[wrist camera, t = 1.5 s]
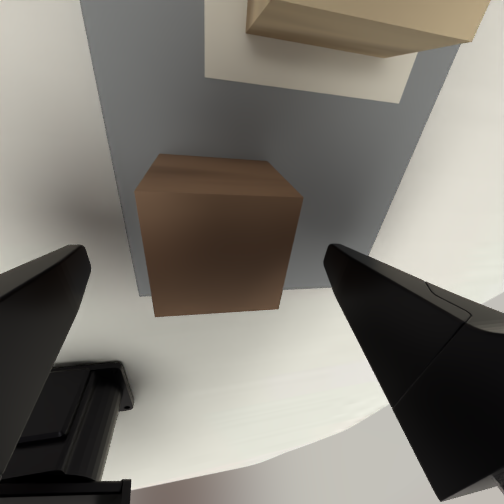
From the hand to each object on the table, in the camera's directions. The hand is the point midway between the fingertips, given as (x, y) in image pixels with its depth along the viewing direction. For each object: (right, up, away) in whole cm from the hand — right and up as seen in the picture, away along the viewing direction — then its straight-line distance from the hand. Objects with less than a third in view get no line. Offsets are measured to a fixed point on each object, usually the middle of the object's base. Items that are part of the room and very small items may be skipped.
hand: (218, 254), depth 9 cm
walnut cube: (-1, +2, +3) cm, 4 cm away
